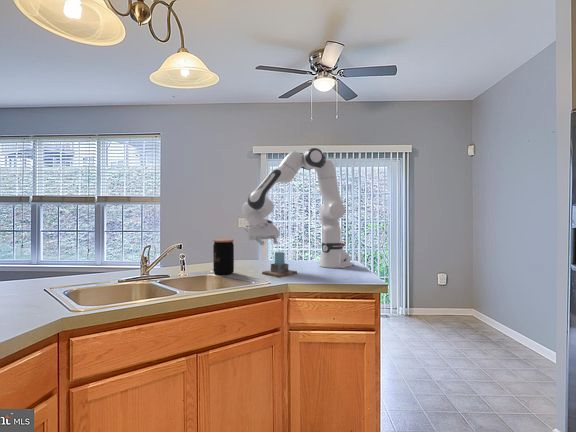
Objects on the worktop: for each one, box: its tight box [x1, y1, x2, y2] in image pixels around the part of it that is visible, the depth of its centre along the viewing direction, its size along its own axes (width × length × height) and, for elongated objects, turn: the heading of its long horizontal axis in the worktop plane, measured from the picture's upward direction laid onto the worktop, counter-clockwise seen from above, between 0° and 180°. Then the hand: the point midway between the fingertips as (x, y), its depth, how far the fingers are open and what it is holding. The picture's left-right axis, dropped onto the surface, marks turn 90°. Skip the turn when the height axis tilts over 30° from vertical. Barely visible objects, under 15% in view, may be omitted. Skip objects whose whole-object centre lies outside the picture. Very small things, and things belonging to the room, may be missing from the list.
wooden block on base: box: [261, 262, 298, 278], centre depth 176 cm, size 14×12×5 cm
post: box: [274, 251, 286, 265], centre depth 176 cm, size 4×4×10 cm
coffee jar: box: [212, 238, 235, 276], centre depth 177 cm, size 11×11×18 cm
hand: (269, 243), depth 182 cm, fingers open, 8 cm apart
